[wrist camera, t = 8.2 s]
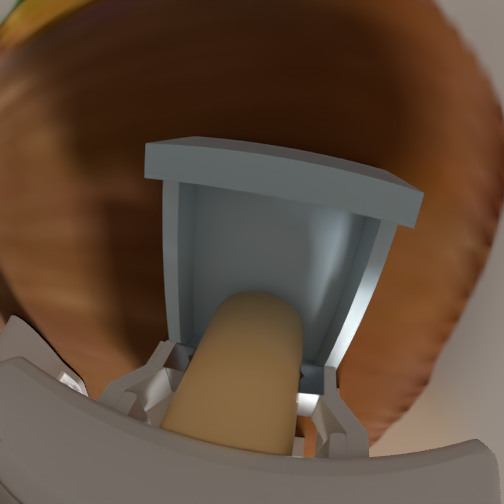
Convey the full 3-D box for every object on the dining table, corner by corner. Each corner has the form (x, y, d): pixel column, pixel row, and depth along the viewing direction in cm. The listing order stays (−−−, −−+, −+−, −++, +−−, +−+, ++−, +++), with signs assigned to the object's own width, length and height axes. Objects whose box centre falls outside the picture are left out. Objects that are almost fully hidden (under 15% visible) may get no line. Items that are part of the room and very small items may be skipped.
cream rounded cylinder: (254, 369, 15) (225, 479, 8) (196, 318, 14) (135, 430, 7) (322, 337, 13) (317, 470, 6) (261, 274, 12) (214, 416, 6)
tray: (322, 357, 16) (321, 413, 12) (189, 329, 17) (162, 377, 13) (386, 170, 11) (424, 192, 7) (195, 136, 12) (145, 143, 8)
